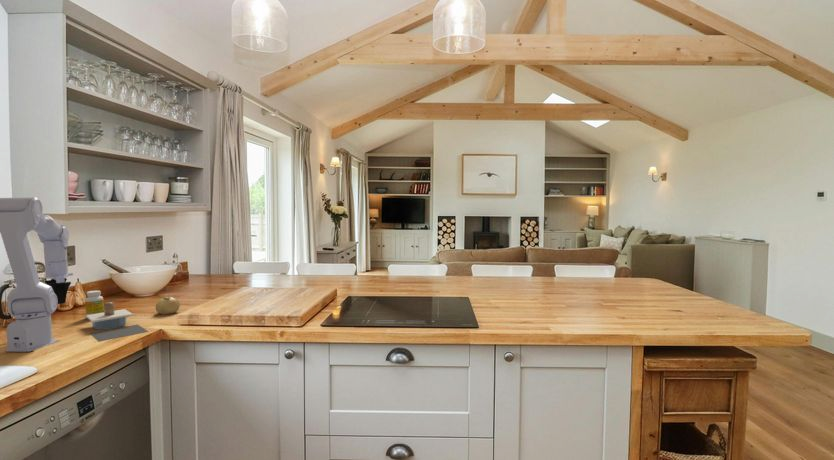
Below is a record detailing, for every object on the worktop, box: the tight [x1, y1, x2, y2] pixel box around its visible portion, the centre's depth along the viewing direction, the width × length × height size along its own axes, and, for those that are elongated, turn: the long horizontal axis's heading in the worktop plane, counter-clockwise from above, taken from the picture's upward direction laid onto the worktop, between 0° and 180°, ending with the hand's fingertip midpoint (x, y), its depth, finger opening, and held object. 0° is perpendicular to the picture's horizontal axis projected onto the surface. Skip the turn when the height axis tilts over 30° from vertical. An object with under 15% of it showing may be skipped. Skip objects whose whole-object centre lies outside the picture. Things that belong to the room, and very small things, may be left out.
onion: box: [155, 296, 181, 316], centre depth 160 cm, size 8×8×7 cm
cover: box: [85, 301, 134, 323], centre depth 143 cm, size 11×11×5 cm
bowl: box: [91, 317, 127, 330], centre depth 143 cm, size 9×9×4 cm
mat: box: [89, 324, 149, 343], centre depth 135 cm, size 13×13×1 cm
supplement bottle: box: [84, 290, 105, 320], centre depth 156 cm, size 5×5×10 cm
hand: (59, 302), depth 140 cm, fingers open, 7 cm apart
